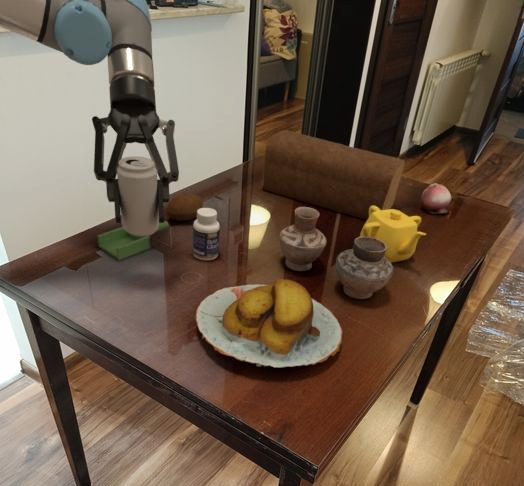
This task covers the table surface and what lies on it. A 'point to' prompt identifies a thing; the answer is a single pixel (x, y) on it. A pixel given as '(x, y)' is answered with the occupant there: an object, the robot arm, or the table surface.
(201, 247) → the pill bottle
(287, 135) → the bread
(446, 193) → the pink peach
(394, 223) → the teapot
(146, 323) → the table surface
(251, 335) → the food on plate
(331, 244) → the table surface
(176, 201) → the potato
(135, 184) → the beverage can
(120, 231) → the scoop
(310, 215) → the pottery
